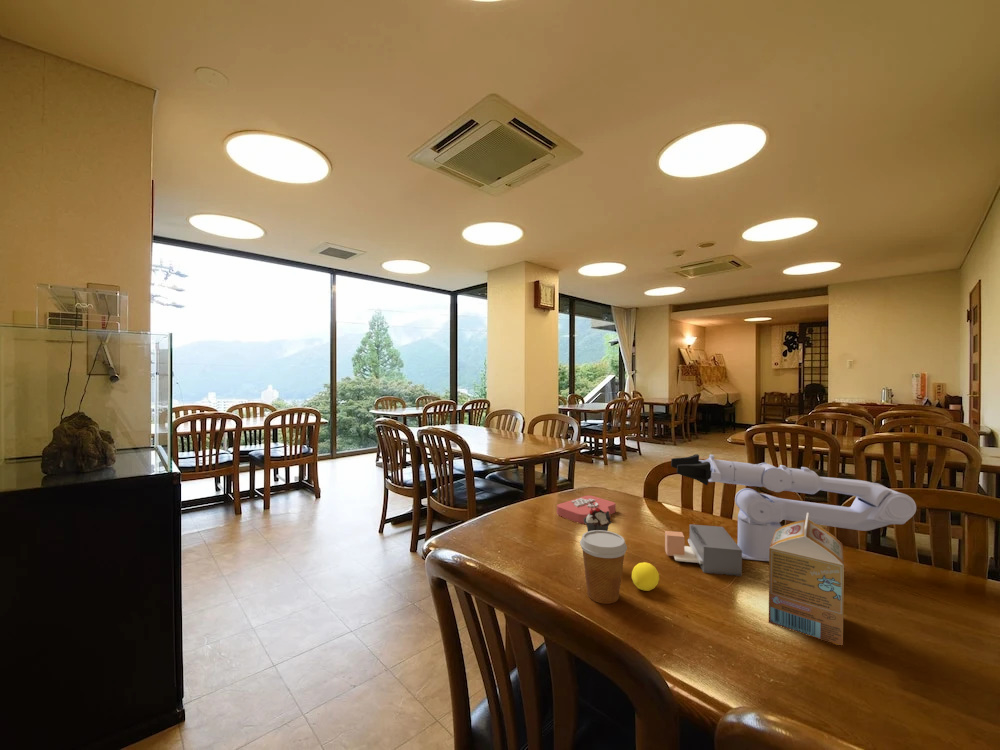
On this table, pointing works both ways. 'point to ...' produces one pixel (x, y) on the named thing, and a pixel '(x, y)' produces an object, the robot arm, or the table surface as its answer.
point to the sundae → (597, 520)
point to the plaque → (584, 507)
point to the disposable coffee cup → (603, 564)
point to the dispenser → (715, 550)
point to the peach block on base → (678, 547)
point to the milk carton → (807, 581)
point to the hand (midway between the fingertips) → (674, 465)
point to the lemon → (645, 576)
